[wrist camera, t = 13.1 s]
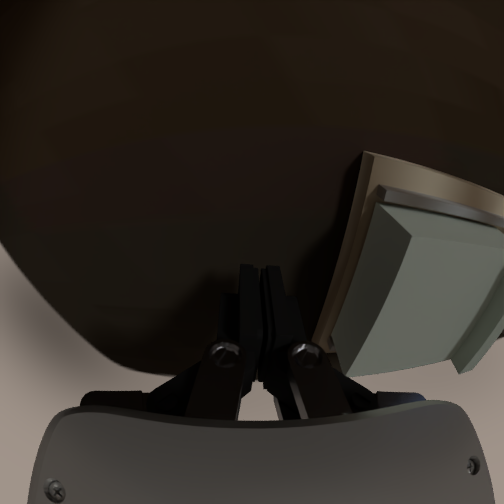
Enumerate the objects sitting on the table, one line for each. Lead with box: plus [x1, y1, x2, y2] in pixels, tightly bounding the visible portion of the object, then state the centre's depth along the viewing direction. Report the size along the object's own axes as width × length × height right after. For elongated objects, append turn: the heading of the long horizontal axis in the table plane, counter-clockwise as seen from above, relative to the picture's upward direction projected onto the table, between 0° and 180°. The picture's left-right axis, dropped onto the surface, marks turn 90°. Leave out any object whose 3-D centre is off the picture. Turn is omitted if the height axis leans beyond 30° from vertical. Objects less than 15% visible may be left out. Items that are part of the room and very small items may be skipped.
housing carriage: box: [331, 202, 504, 377], centre depth 12 cm, size 10×8×5 cm
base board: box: [312, 151, 504, 353], centre depth 13 cm, size 27×12×5 cm, turn 85°
